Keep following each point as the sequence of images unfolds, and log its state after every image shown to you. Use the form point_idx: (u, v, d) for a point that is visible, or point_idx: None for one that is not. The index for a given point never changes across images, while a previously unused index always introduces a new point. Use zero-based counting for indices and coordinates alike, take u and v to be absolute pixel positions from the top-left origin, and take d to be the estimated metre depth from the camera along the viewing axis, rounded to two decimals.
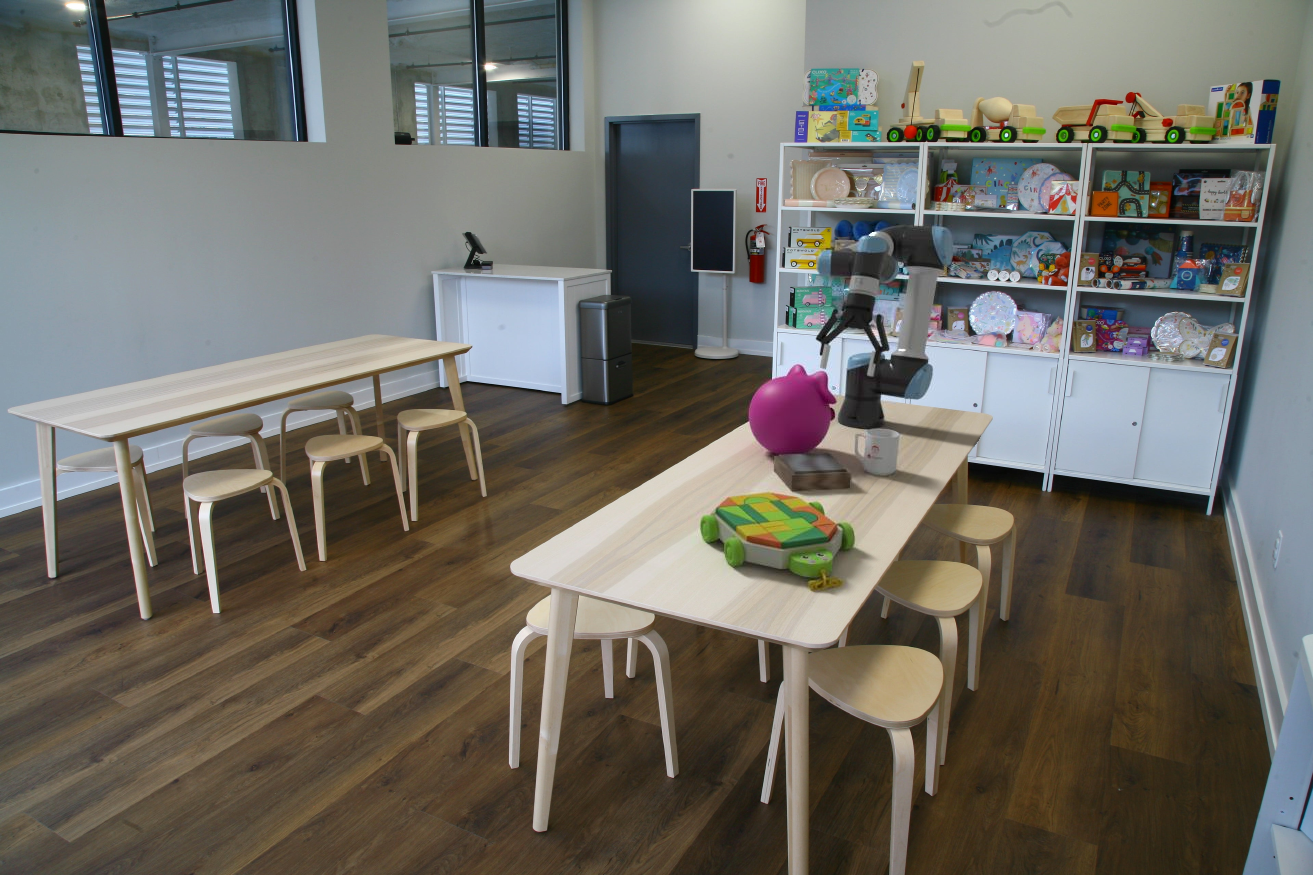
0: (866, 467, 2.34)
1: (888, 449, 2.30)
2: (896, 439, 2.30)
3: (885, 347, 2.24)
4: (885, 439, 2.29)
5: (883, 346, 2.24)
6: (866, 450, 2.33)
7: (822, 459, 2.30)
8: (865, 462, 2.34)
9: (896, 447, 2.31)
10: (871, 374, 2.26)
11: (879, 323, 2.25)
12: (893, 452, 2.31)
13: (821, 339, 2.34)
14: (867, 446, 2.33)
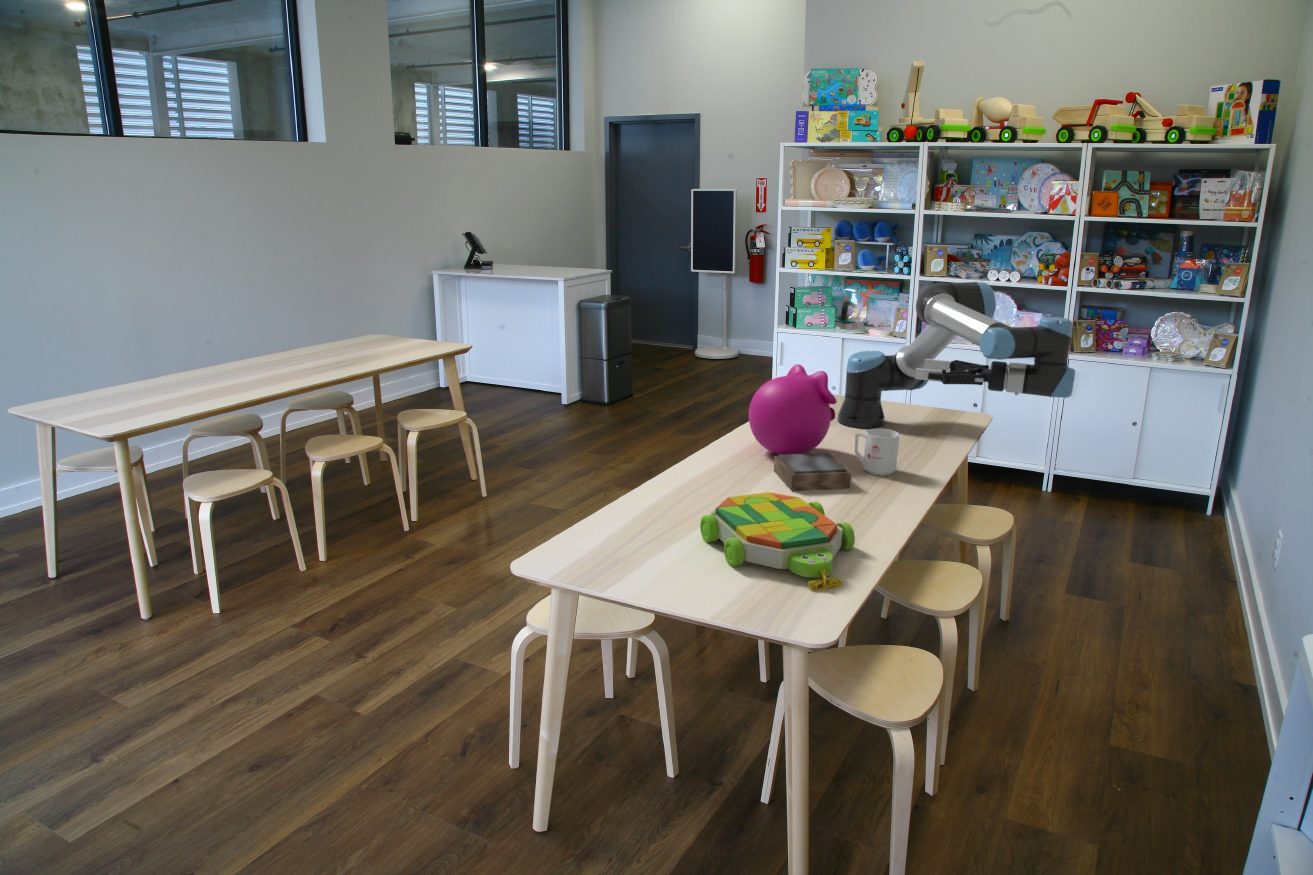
0: (866, 467, 2.34)
1: (888, 449, 2.30)
2: (896, 439, 2.30)
3: None
4: (885, 439, 2.29)
5: None
6: (866, 450, 2.33)
7: (822, 459, 2.30)
8: (865, 462, 2.34)
9: (896, 447, 2.31)
10: None
11: None
12: (893, 452, 2.31)
13: None
14: (867, 446, 2.33)
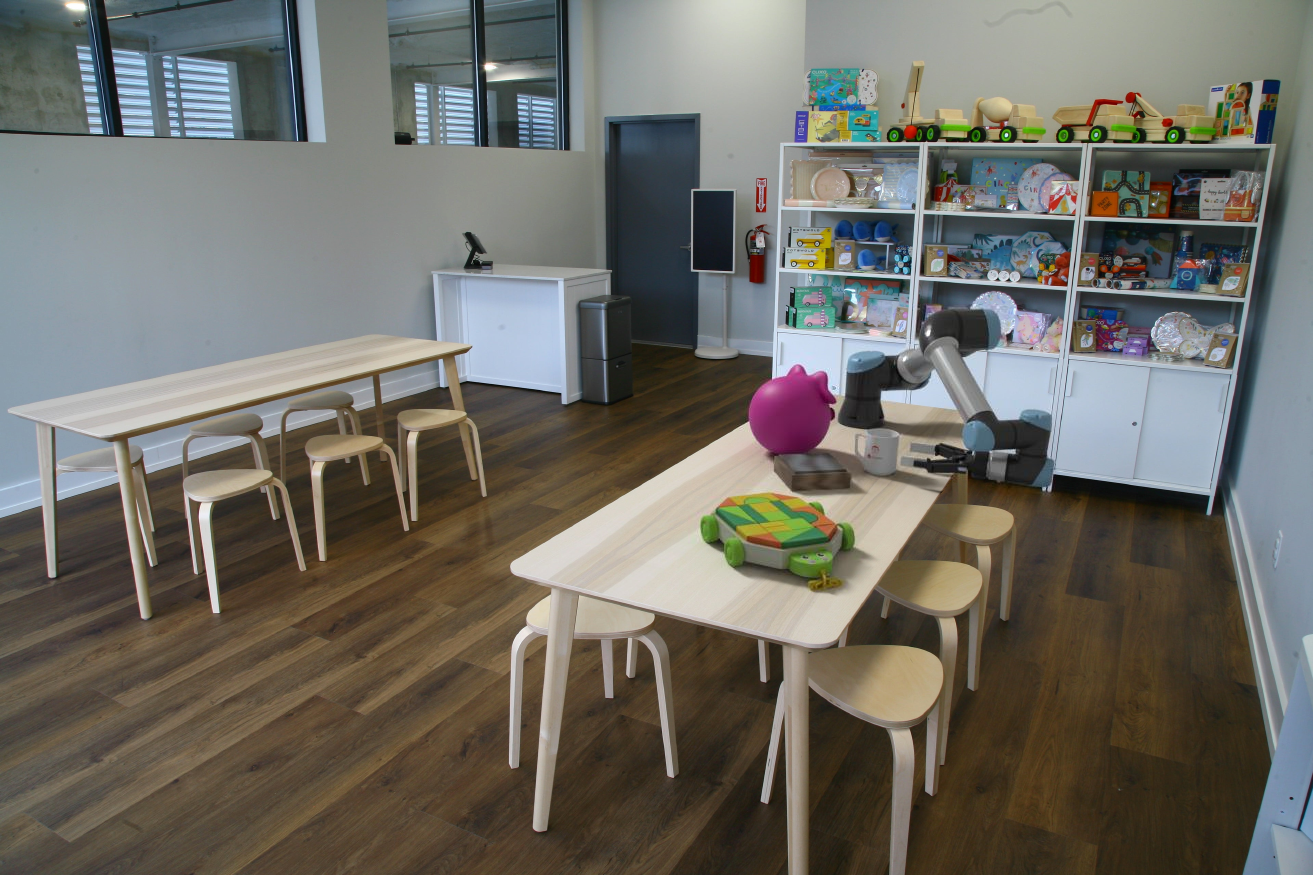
0: (866, 467, 2.34)
1: (888, 449, 2.30)
2: (896, 439, 2.30)
3: None
4: (885, 439, 2.29)
5: None
6: (866, 450, 2.33)
7: (822, 459, 2.30)
8: (865, 462, 2.34)
9: (896, 447, 2.31)
10: None
11: None
12: (893, 452, 2.31)
13: None
14: (867, 446, 2.33)
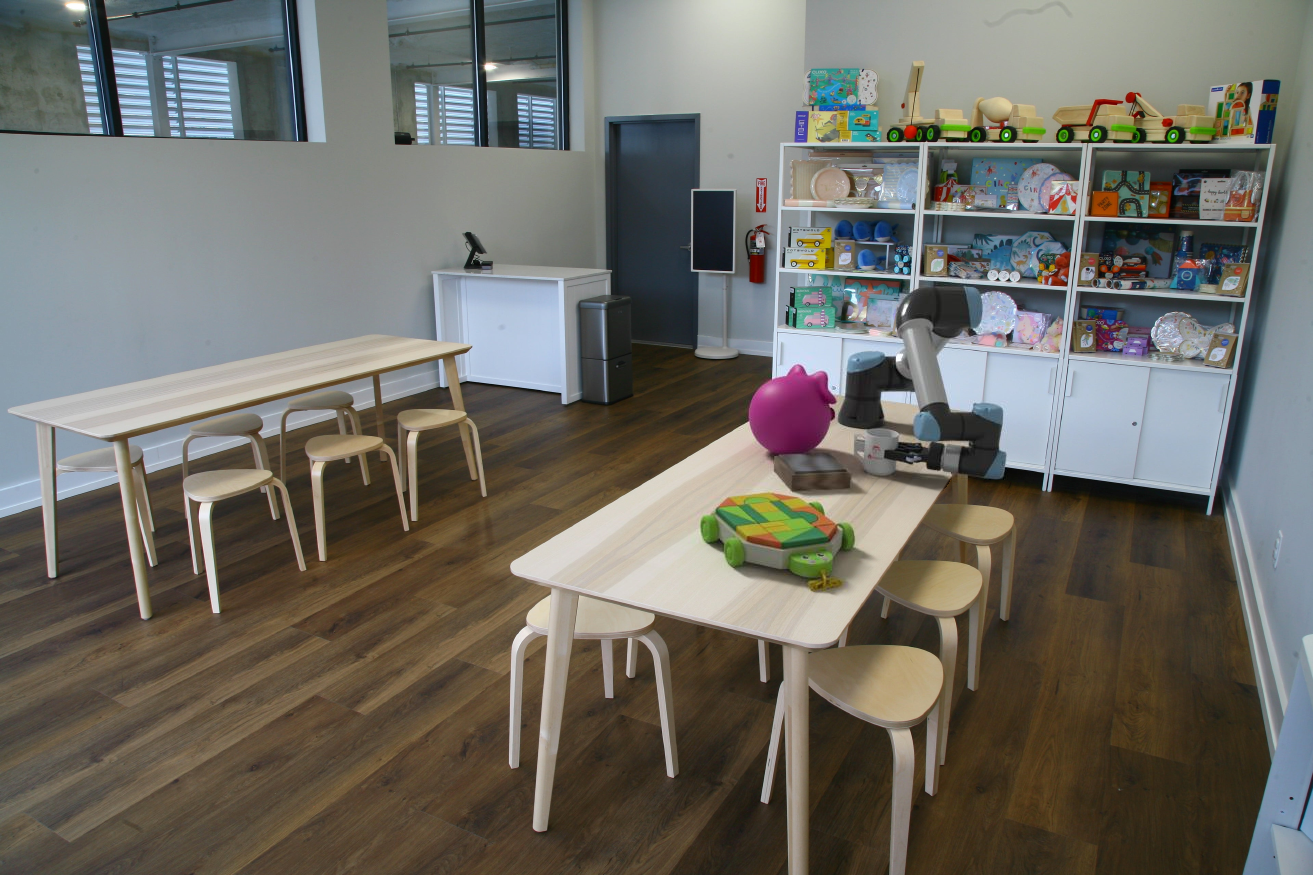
0: (866, 467, 2.34)
1: (889, 449, 2.30)
2: (896, 439, 2.30)
3: None
4: (886, 439, 2.29)
5: None
6: (866, 450, 2.33)
7: (822, 459, 2.30)
8: (865, 462, 2.34)
9: (896, 447, 2.31)
10: None
11: None
12: None
13: None
14: (867, 446, 2.32)
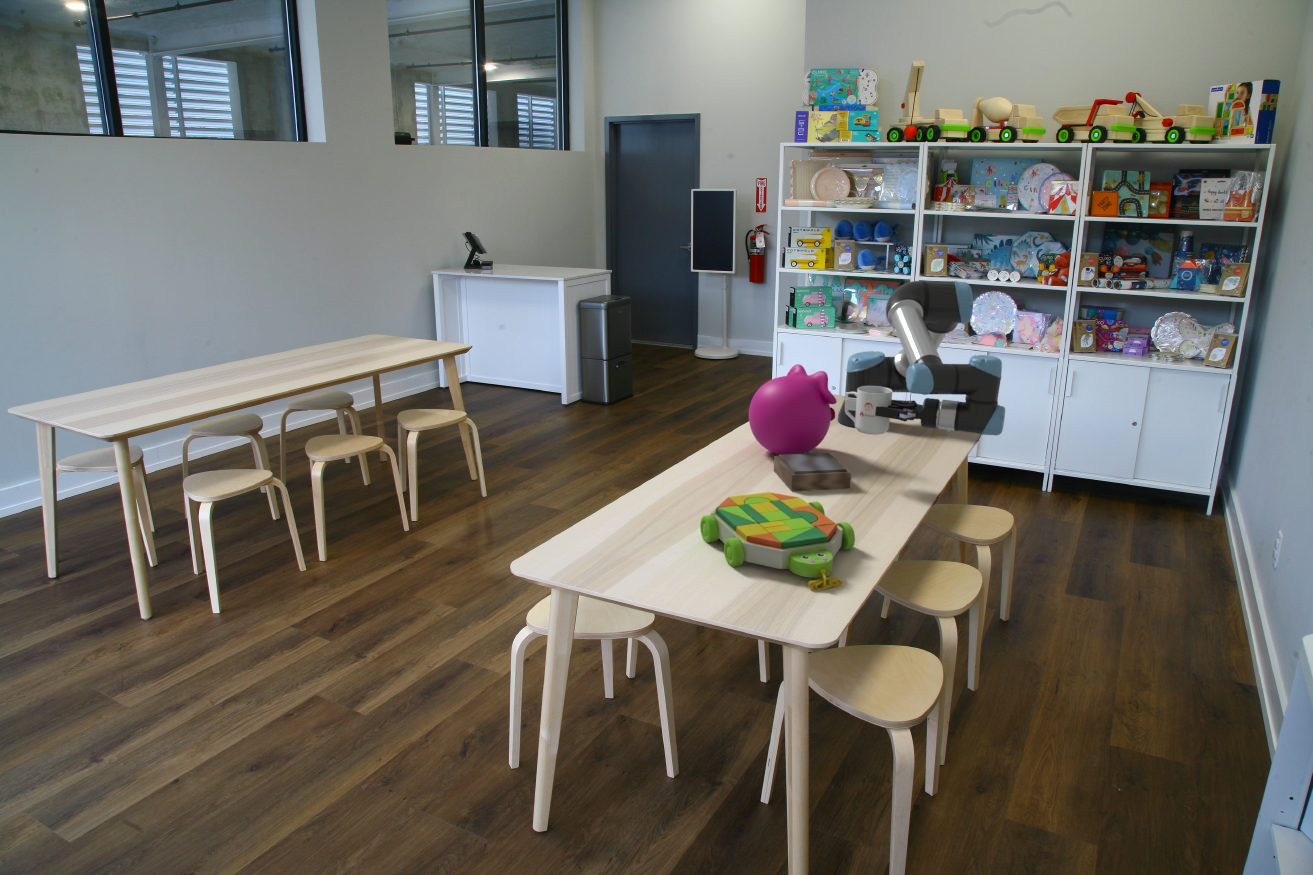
0: (858, 426, 2.22)
1: (882, 406, 2.18)
2: (889, 395, 2.18)
3: None
4: (879, 395, 2.17)
5: None
6: (858, 408, 2.21)
7: (822, 459, 2.30)
8: (857, 421, 2.22)
9: (890, 404, 2.19)
10: None
11: None
12: None
13: None
14: (859, 404, 2.20)
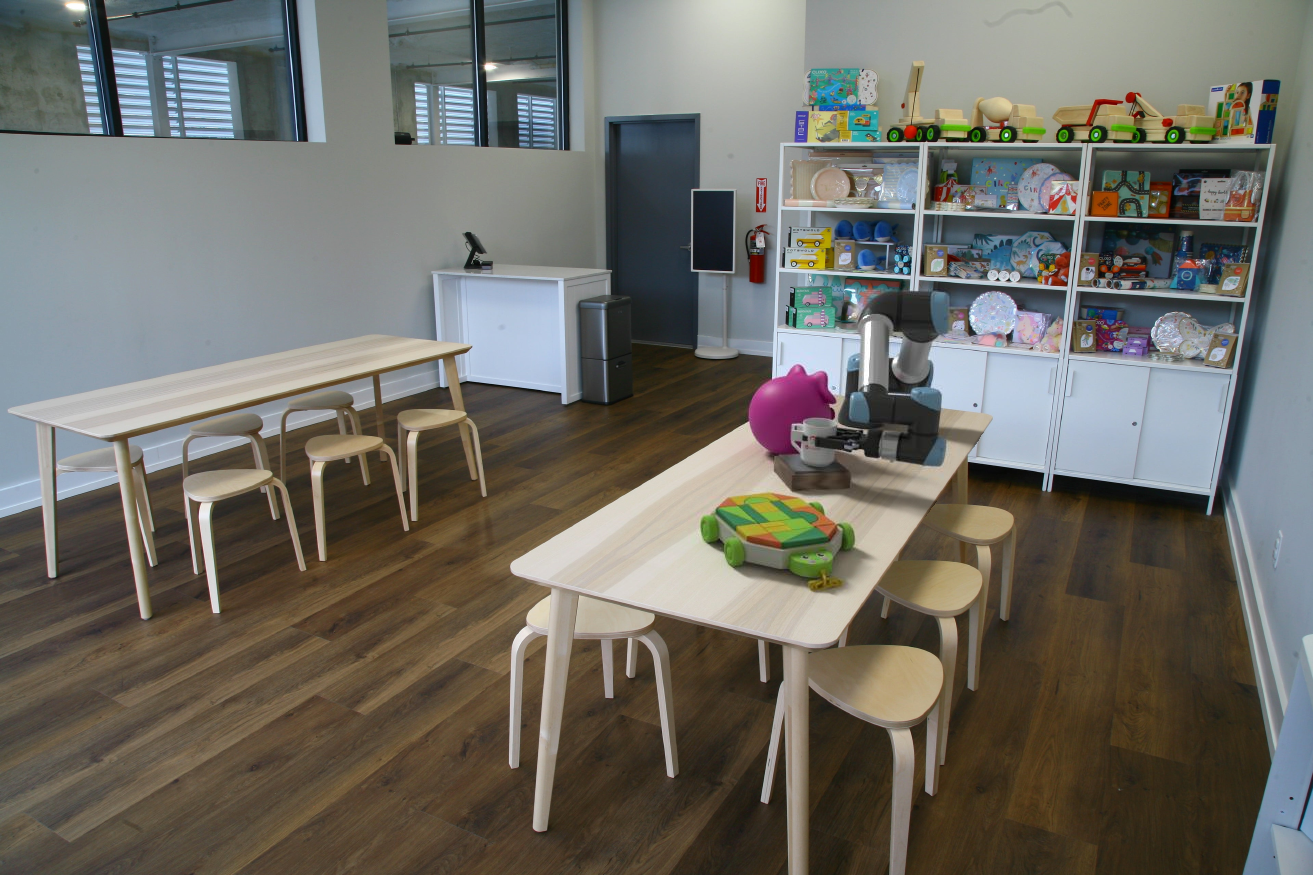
0: (804, 458, 2.25)
1: None
2: (834, 429, 2.21)
3: None
4: (823, 429, 2.20)
5: None
6: (803, 441, 2.24)
7: None
8: (802, 453, 2.25)
9: None
10: None
11: None
12: None
13: None
14: None
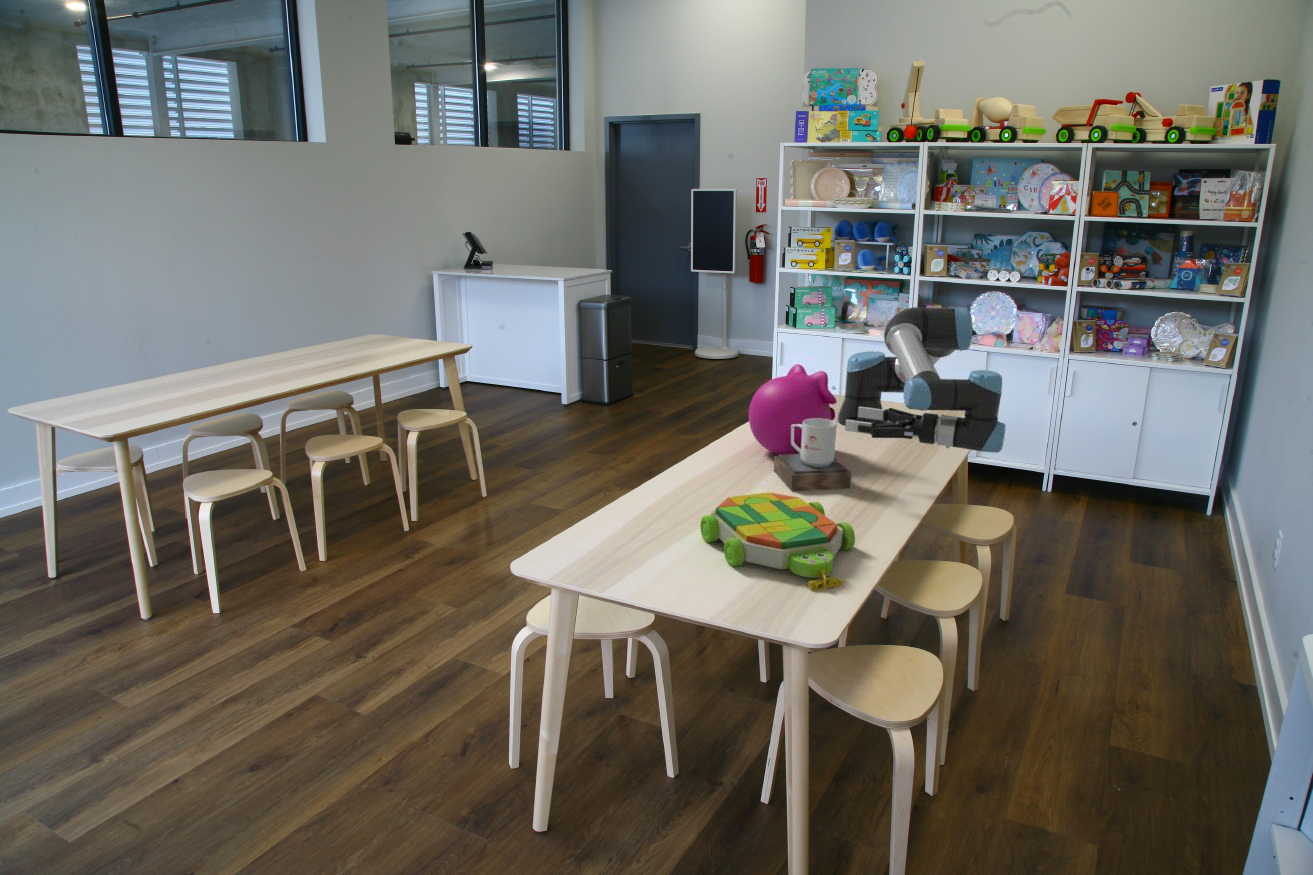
0: (803, 459, 2.25)
1: (826, 439, 2.21)
2: (833, 429, 2.21)
3: None
4: (823, 429, 2.20)
5: None
6: (803, 441, 2.24)
7: None
8: (802, 453, 2.25)
9: (834, 437, 2.22)
10: None
11: None
12: (831, 442, 2.22)
13: None
14: (804, 437, 2.23)
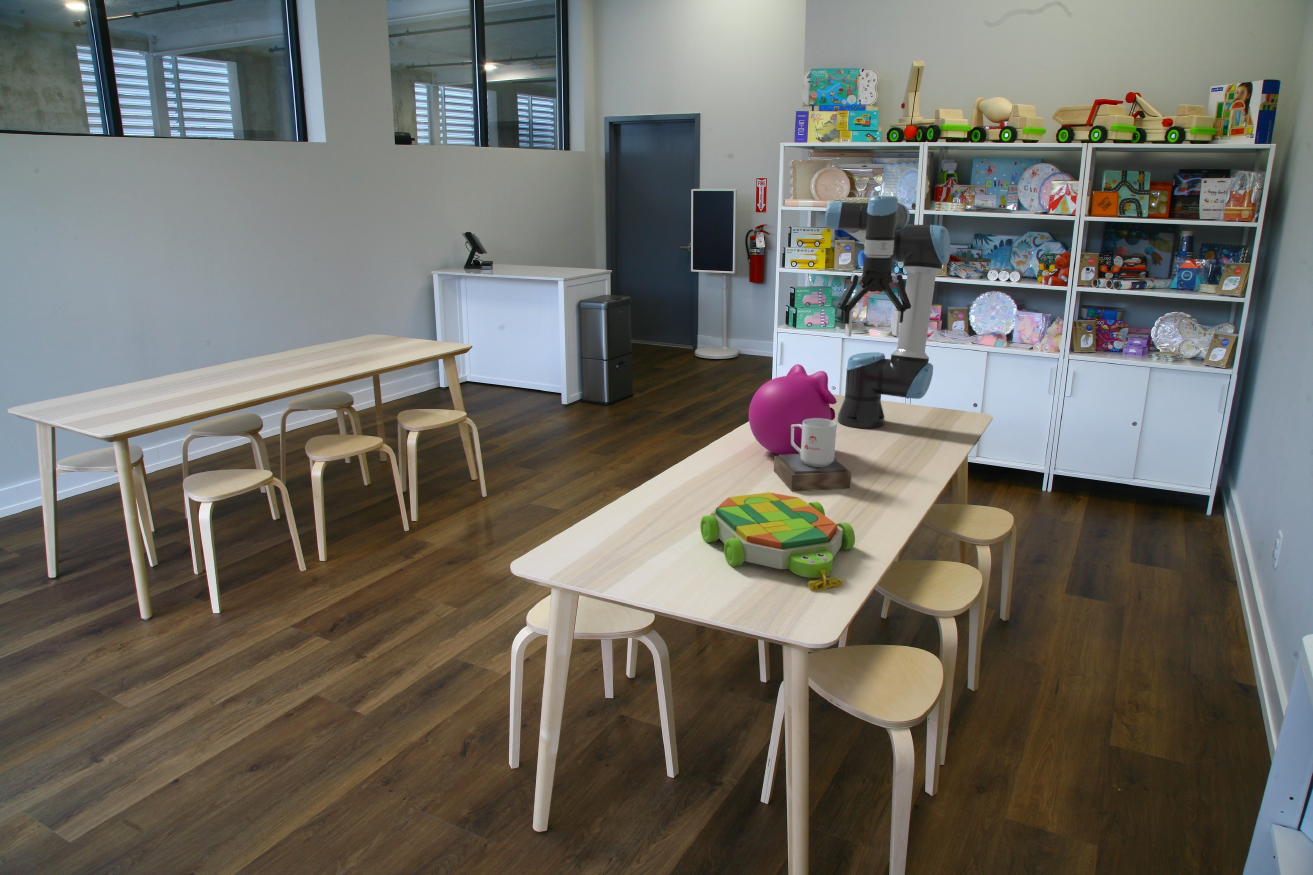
0: (803, 459, 2.25)
1: (826, 439, 2.21)
2: (833, 429, 2.21)
3: (910, 306, 2.31)
4: (823, 429, 2.20)
5: (908, 305, 2.31)
6: (803, 441, 2.24)
7: None
8: (802, 453, 2.25)
9: (834, 437, 2.22)
10: None
11: (901, 284, 2.29)
12: (831, 442, 2.22)
13: (844, 307, 2.28)
14: (804, 437, 2.23)
